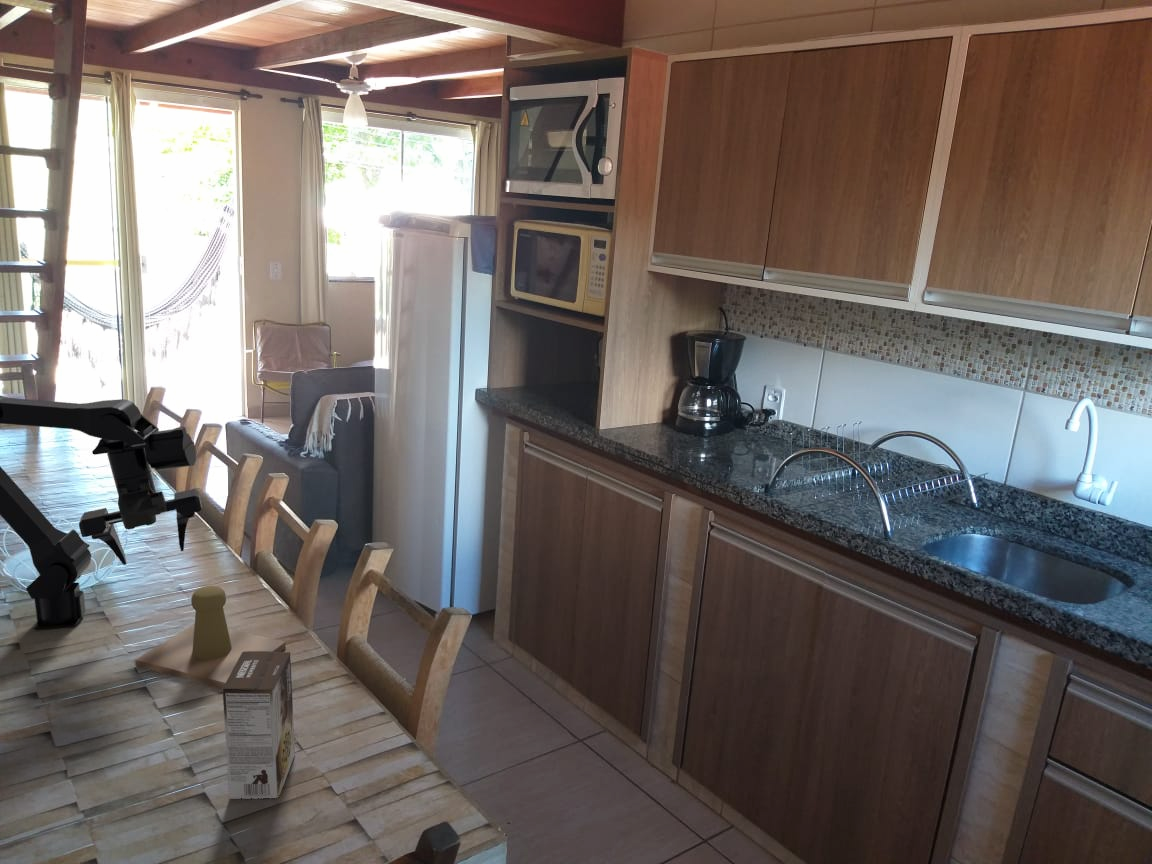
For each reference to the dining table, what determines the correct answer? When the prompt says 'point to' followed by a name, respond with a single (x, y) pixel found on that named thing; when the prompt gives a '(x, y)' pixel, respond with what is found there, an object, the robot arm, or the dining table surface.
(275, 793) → the coffee box
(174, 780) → the dining table surface
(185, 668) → the walnut board
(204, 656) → the cork
